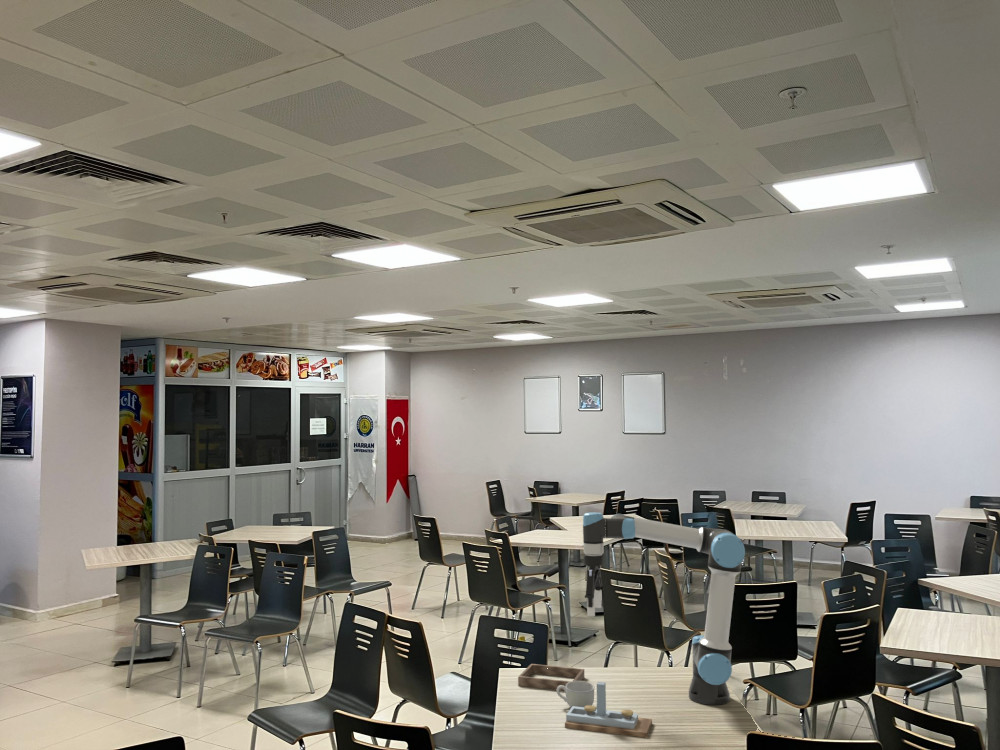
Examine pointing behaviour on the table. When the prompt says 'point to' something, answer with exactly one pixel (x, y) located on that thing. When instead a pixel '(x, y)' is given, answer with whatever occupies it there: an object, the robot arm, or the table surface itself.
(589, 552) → the robot arm
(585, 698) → the teacup
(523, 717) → the table surface
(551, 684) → the open brown wooden frame
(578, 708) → the blue post stand
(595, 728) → the boss board
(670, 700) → the table surface
